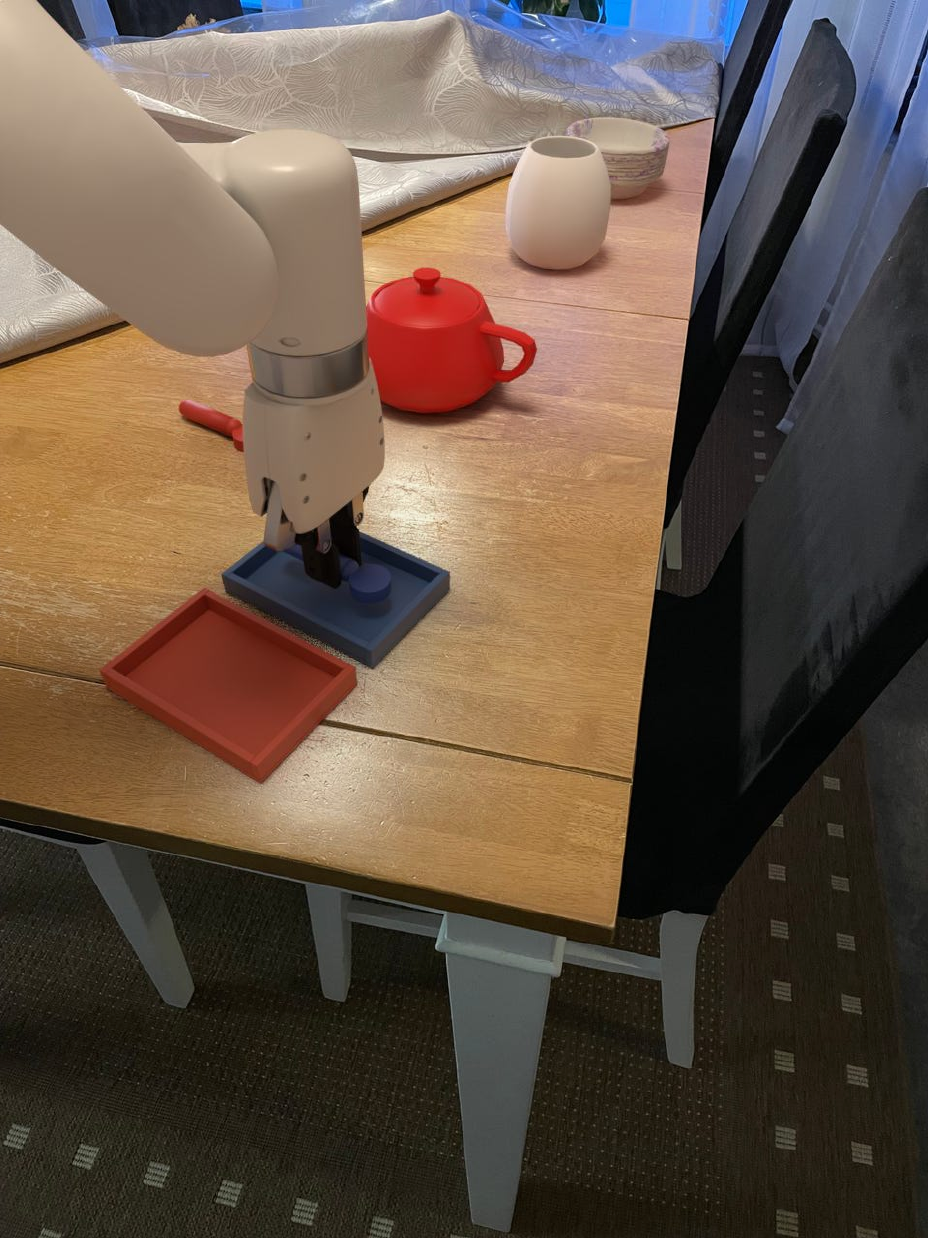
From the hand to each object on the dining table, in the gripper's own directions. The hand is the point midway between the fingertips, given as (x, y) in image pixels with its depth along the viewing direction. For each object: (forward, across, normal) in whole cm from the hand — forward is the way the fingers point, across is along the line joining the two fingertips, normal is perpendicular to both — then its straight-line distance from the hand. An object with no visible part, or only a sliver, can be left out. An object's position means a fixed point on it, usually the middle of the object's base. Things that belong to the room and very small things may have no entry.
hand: (333, 570), depth 68 cm
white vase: (+2, -66, -16) cm, 68 cm away
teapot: (+2, -30, -12) cm, 32 cm away
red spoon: (+2, -12, -23) cm, 26 cm away
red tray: (+2, +12, 0) cm, 12 cm away
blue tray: (+2, 0, 0) cm, 2 cm away
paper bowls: (+2, -93, -21) cm, 95 cm away
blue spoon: (0, 0, 0) cm, 0 cm away
